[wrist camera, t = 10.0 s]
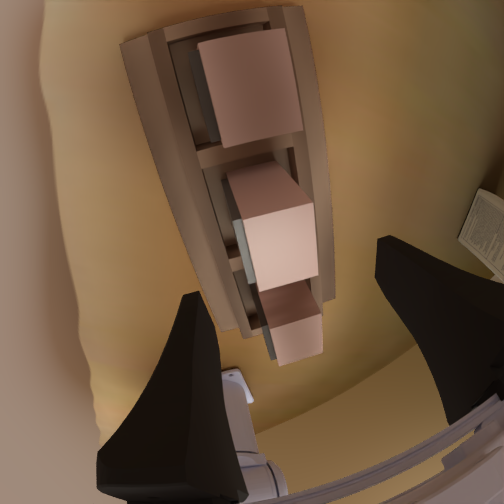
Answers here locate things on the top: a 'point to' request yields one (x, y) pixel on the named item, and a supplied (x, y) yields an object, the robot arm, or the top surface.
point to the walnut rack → (238, 154)
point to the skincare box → (486, 231)
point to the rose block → (271, 225)
